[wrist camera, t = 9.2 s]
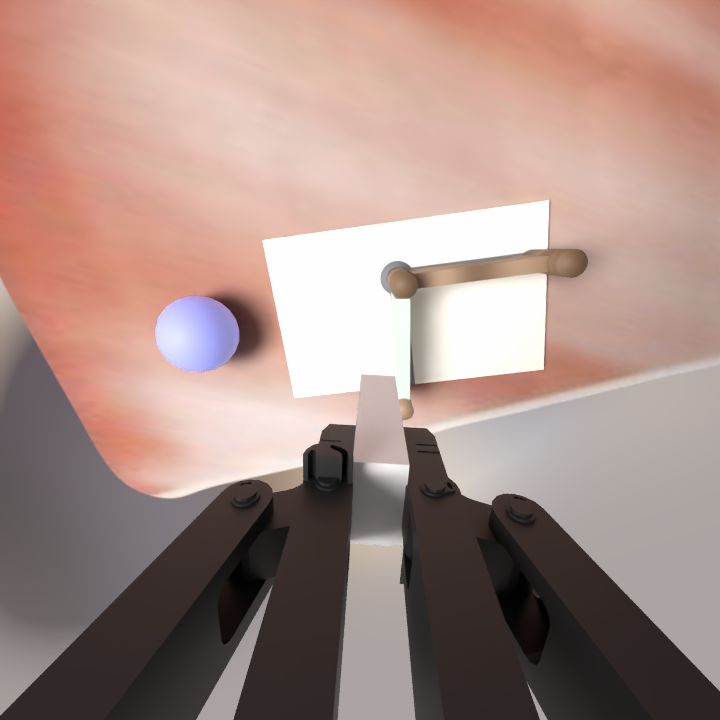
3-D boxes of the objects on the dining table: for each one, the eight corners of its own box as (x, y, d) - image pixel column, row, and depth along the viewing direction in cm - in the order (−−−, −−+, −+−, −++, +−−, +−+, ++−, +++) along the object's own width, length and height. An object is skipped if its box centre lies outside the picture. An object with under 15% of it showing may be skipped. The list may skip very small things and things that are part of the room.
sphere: (197, 277, 34) (156, 283, 27) (261, 316, 35) (237, 331, 28) (169, 336, 36) (124, 356, 29) (230, 371, 37) (200, 398, 30)
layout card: (546, 200, 31) (549, 200, 31) (541, 368, 36) (544, 369, 36) (263, 240, 33) (262, 240, 32) (295, 396, 37) (294, 398, 37)
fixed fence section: (542, 248, 32) (588, 247, 25) (541, 270, 33) (586, 275, 26) (385, 268, 33) (390, 273, 26) (387, 290, 33) (393, 300, 27)
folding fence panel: (389, 291, 33) (394, 300, 27) (406, 291, 33) (414, 300, 27) (390, 393, 36) (395, 420, 30) (405, 392, 36) (413, 419, 30)
